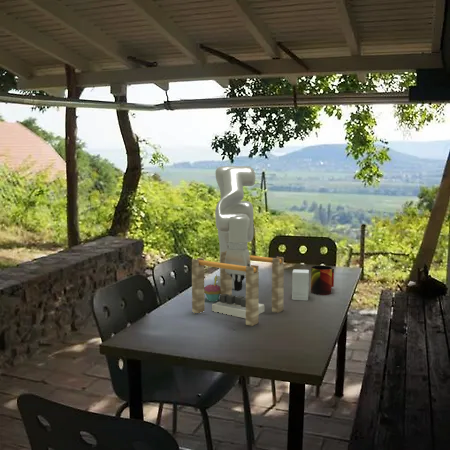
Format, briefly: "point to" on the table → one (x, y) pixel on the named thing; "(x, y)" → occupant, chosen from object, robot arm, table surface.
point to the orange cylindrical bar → (261, 259)
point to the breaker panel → (233, 306)
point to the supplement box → (300, 284)
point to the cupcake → (212, 291)
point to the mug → (322, 280)
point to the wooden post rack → (251, 287)
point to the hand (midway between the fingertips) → (238, 290)
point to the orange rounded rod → (223, 265)
